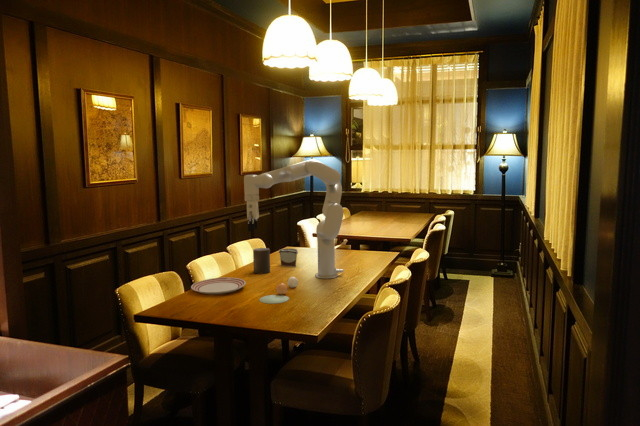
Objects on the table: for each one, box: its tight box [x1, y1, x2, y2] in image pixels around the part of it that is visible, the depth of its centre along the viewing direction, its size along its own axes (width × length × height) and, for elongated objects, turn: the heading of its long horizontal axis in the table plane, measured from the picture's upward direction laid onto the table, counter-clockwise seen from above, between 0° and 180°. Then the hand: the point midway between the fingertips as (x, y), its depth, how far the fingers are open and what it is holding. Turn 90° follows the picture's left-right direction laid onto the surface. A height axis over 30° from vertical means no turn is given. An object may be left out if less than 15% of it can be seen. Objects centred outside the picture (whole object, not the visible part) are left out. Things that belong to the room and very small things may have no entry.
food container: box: [278, 248, 299, 268], centre depth 313 cm, size 12×6×10 cm, turn 71°
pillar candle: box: [252, 247, 271, 275], centre depth 295 cm, size 10×10×15 cm
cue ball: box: [287, 276, 299, 288], centre depth 260 cm, size 6×6×6 cm
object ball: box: [275, 283, 288, 296], centre depth 247 cm, size 6×6×6 cm
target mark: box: [258, 294, 290, 305], centre depth 239 cm, size 14×14×1 cm
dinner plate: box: [190, 277, 247, 295], centre depth 258 cm, size 28×27×3 cm
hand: (253, 229), depth 270 cm, fingers open, 9 cm apart
